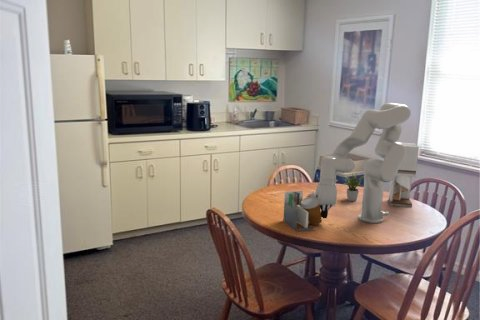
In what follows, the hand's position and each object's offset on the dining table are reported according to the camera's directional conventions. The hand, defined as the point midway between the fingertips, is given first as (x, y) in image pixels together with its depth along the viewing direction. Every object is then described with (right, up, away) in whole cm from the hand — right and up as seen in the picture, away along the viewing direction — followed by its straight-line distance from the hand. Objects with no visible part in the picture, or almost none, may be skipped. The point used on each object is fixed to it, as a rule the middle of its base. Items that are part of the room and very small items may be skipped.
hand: (323, 217), depth 202 cm
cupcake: (-2, +1, +23) cm, 23 cm away
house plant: (+26, +4, +40) cm, 48 cm away
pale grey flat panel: (-12, -3, -3) cm, 12 cm away
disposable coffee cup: (-4, -2, -1) cm, 5 cm away
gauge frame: (-13, -3, -3) cm, 13 cm away
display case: (+52, +3, +36) cm, 63 cm away
